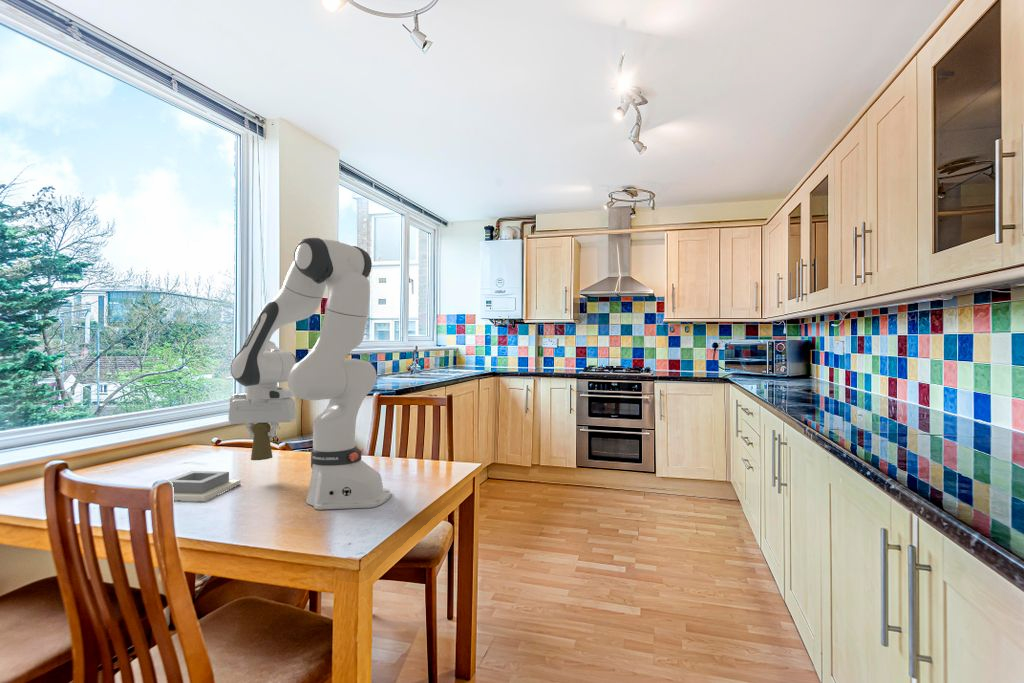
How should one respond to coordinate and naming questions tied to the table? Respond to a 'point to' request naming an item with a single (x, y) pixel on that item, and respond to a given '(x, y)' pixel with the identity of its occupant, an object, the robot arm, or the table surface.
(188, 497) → the socket board
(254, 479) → the table surface
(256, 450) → the cork
